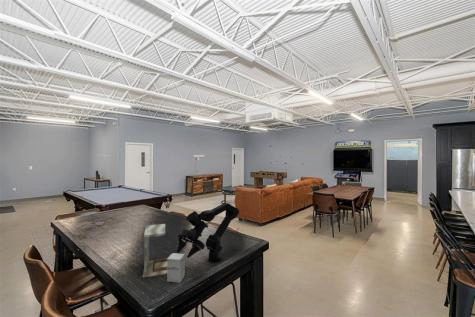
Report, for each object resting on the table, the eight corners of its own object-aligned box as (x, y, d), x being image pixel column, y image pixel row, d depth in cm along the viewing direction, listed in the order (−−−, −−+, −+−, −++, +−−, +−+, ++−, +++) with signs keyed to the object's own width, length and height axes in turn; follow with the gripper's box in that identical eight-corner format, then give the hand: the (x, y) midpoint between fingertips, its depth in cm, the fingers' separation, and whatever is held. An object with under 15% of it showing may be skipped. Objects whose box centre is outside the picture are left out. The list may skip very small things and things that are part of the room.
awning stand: (176, 258, 147) (175, 222, 147) (177, 272, 130) (177, 232, 130) (145, 262, 142) (145, 225, 141) (142, 277, 125) (142, 235, 124)
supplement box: (166, 282, 120) (166, 258, 120) (172, 274, 128) (172, 252, 127) (179, 283, 119) (179, 259, 119) (185, 275, 126) (185, 253, 126)
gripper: (180, 219, 136) (163, 243, 128) (200, 226, 124) (184, 253, 116) (190, 229, 142) (175, 253, 134) (211, 236, 130) (196, 262, 122)
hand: (182, 255), depth 126 cm, fingers open, 9 cm apart
